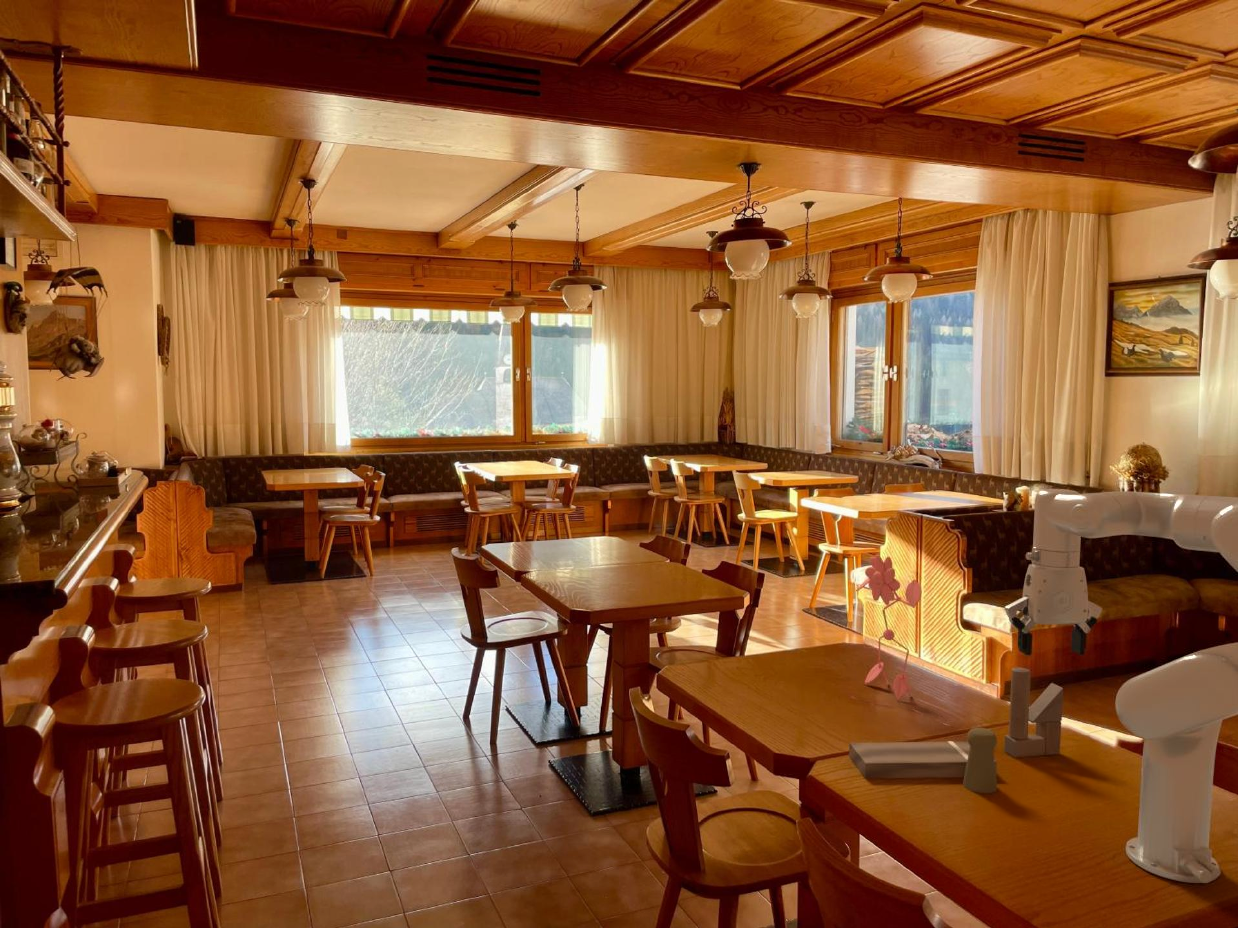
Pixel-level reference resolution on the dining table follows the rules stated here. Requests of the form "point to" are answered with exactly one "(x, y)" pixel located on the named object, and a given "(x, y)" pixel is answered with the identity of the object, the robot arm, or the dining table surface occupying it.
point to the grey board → (910, 759)
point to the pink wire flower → (884, 586)
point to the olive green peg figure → (981, 761)
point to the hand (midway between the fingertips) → (1051, 652)
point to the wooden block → (1033, 718)
